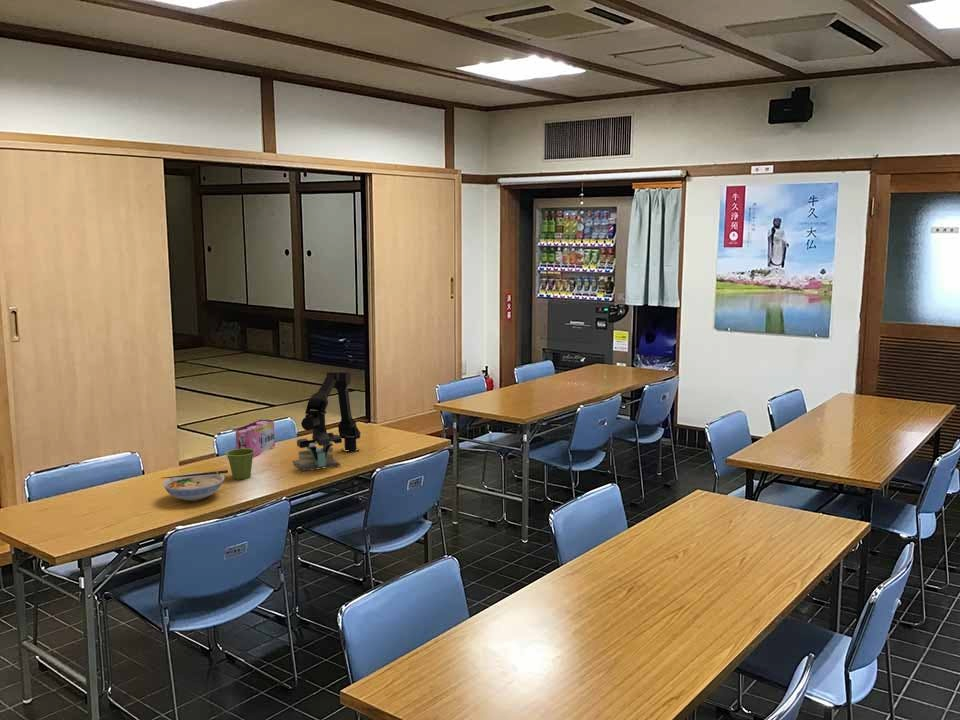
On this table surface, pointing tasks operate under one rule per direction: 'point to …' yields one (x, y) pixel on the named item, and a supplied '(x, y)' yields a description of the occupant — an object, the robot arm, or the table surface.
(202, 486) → the ramen bowl
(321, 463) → the teal slotted plate
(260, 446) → the gum box
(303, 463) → the slotted base
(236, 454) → the plant pot
